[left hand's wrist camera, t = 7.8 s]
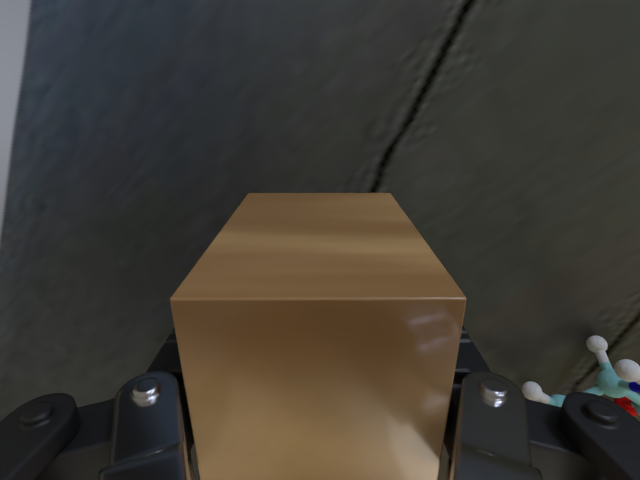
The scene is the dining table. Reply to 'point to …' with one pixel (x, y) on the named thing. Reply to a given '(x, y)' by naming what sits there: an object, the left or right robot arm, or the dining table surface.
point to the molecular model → (601, 381)
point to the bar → (318, 342)
